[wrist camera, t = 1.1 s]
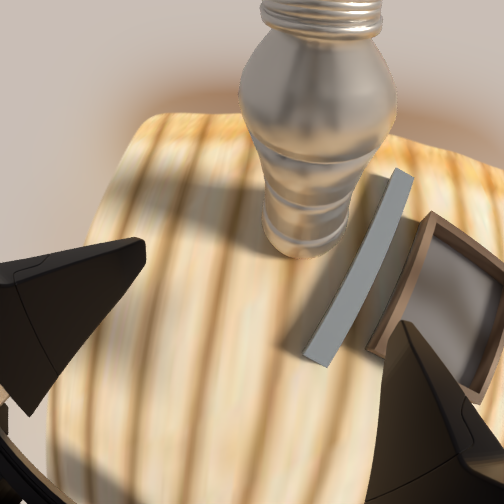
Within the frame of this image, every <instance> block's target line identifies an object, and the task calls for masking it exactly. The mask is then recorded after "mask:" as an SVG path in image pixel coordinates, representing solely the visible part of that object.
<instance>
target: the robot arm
mask: <svg viewBox="0 0 504 504" xmlns="http://www.w3.org/2000/svg"><path fill="white" fill-rule="evenodd" d="M145 264H146V244H145V241H144V240H143V239H140V238H137V237H131V238H126V239H120V240H115V241H110V242H105V243H99V244H94V245H89V246H84V247H79V248H74V249H70V250H65V251H61V252H55V253H51V254H46V255H41V256H37V257H32V258H27V259H21V260H15V261H9V262H3V263H0V504H20V502H21V501H22V500H24V501H25V502H26V503H27V504H77V503H75V502H74V501H73V500H71V499H70V498H69V497H68V496H67V495H65V494H64V493H63V492H62V491H61V490H59V489H58V488H57V487H56V486H55V485H54V484H53V483H52V482H50V481H49V480H48V479H47V478H46V477H45V476H44V475H43V474H42V473H41V472H40V471H39V470H38V469H37V468H36V467H35V466H34V465H33V464H32V463H31V462H30V461H29V460H28V459H27V458H26V457H25V456H24V455H23V454H22V453H21V452H20V450H19V449H18V448H17V447H16V446H15V445H14V443H13V442H12V441H11V440H10V439H9V437H8V436H7V435H8V406H7V405H6V404H5V403H4V402H5V401H6V400H7V399H8V398H9V397H11V398H12V399H13V400H14V401H15V402H16V403H17V405H18V406H19V407H20V408H21V409H22V410H23V411H24V412H25V413H26V415H27V416H28V417H30V416H31V415H32V414H33V413H34V411H35V410H36V408H37V407H38V405H39V404H40V402H41V401H42V399H43V398H44V397H45V395H46V394H47V392H48V391H49V389H50V388H51V387H52V385H53V384H54V382H55V381H56V380H57V378H58V376H59V375H60V374H61V373H62V371H63V370H64V369H65V367H66V366H67V365H68V363H69V362H70V361H71V359H72V358H73V357H74V355H75V354H76V353H77V352H78V350H79V349H80V348H81V346H82V345H83V344H84V343H85V341H86V340H87V339H88V338H89V336H90V335H91V334H92V333H93V331H94V330H95V329H96V328H97V326H98V325H99V324H100V323H101V322H102V320H103V319H104V318H105V317H106V316H107V314H108V313H109V312H110V311H111V310H112V308H113V307H114V306H115V305H116V304H117V302H118V301H119V300H120V299H121V298H122V296H123V295H124V294H125V293H126V291H127V290H128V288H129V287H130V286H131V284H132V283H133V281H134V280H135V278H136V277H137V276H138V274H139V273H140V272H141V270H142V269H143V267H144V266H145ZM364 504H504V448H503V447H502V446H501V444H500V443H499V441H498V440H497V438H496V437H495V436H494V434H493V433H492V432H491V430H490V429H489V427H488V426H487V425H486V423H485V422H484V420H483V419H482V418H481V416H480V415H479V414H478V412H477V411H476V409H475V408H474V406H473V405H472V403H471V402H470V400H469V399H468V397H467V396H465V393H464V391H463V390H462V388H461V387H460V385H459V384H458V383H457V381H456V380H455V378H454V377H453V376H452V374H451V373H450V371H449V370H448V369H447V367H446V366H445V364H444V363H443V362H442V360H441V359H440V358H439V356H438V355H437V354H436V352H435V351H434V350H433V348H432V347H431V346H430V345H429V343H428V342H427V341H426V339H425V338H424V337H423V336H422V334H421V333H420V332H419V330H418V329H417V328H416V327H415V325H414V324H413V323H412V322H410V321H406V320H400V321H399V322H398V324H397V325H396V327H395V329H394V330H393V332H392V334H391V335H390V337H389V339H388V342H387V347H386V355H385V362H384V369H383V375H382V382H381V394H380V407H379V418H378V427H377V436H376V443H375V450H374V457H373V463H372V469H371V474H370V479H369V484H368V489H367V494H366V498H365V503H364Z"/></svg>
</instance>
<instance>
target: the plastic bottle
mask: <svg viewBox="0 0 504 504" xmlns="http://www.w3.org/2000/svg"><path fill="white" fill-rule="evenodd" d="M381 6H382V0H262V3H261V5H260V12H261V18H262V21H263V22H264V23H265V24H266V25H267V26H269V27H271V30H270V31H269V33H268V34H267V35H266V36H265V37H264V39H263V40H262V41H261V42H260V44H259V45H258V46H257V48H256V49H255V50H254V52H253V54H252V55H251V57H250V59H249V60H248V62H247V64H246V66H245V67H244V69H243V72H242V76H241V81H240V86H239V92H238V101H239V106H240V109H241V112H242V116H243V119H244V121H245V124H246V126H247V128H248V130H249V133H250V135H251V138H252V140H253V142H254V145H255V147H256V150H257V152H258V155H259V158H260V162H261V166H262V170H263V174H264V179H265V198H264V202H263V208H262V217H261V219H262V227H263V230H264V233H265V234H266V236H267V238H268V239H269V241H270V242H271V244H272V245H273V246H274V247H275V248H276V249H277V250H278V251H280V252H281V253H282V254H284V255H287V256H289V257H292V258H296V259H312V258H316V257H319V256H321V255H323V254H325V253H326V252H328V251H329V250H331V249H332V248H333V247H334V246H335V245H336V244H338V242H339V241H340V240H341V238H342V237H343V235H344V233H345V231H346V227H347V222H348V217H349V205H350V201H351V197H352V193H353V191H354V189H355V186H356V185H357V183H358V181H359V179H360V177H361V175H362V173H363V171H364V169H365V168H366V166H367V165H368V163H369V162H370V160H371V159H372V157H373V156H374V154H375V153H376V152H377V150H378V149H379V147H380V146H381V144H382V143H383V141H384V140H385V138H386V137H387V135H388V133H389V131H390V129H391V128H392V125H393V124H394V122H395V118H396V115H397V90H396V85H395V82H394V80H393V77H392V75H391V73H390V70H389V68H388V66H387V64H386V61H385V59H384V58H383V56H382V54H381V53H380V51H379V50H378V48H377V47H376V45H375V44H374V42H373V40H372V37H375V36H377V35H378V34H379V33H380V32H381V29H382V23H383V18H382V16H381Z"/></svg>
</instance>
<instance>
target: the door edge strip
mask: <svg viewBox="0 0 504 504" xmlns="http://www.w3.org/2000/svg"><path fill="white" fill-rule="evenodd" d="M413 180H414V177H412V176H410V175H409V174H407V173H405V172H403V171H402V170H400V169H398V168H395V170H394V172H393V173H392V175H391V177H390V179H389V182H388V184H387V187H386V189H385V191H384V194H383V196H382V199H381V201H380V203H379V206H378V208H377V210H376V213H375V215H374V217H373V220H372V222H371V224H370V226H369V228H368V231H367V233H366V235H365V237H364V239H363V241H362V244H361V246H360V248H359V250H358V252H357V254H356V256H355V258H354V260H353V262H352V264H351V266H350V268H349V270H348V272H347V274H346V276H345V278H344V280H343V282H342V284H341V286H340V287H339V289H338V291H337V293H336V295H335V297H334V299H333V301H332V302H331V304H330V306H329V308H328V310H327V311H326V313H325V315H324V317H323V319H322V320H321V322H320V324H319V325H318V327H317V329H316V331H315V332H314V334H313V336H312V337H311V339H310V341H309V342H308V344H307V346H306V347H305V349H304V351H303V352H302V354H303V355H304V356H306V357H308V358H310V359H311V360H313V361H315V362H317V363H319V364H321V365H322V366H324V367H326V368H328V366H329V364H330V363H331V361H332V359H333V358H334V356H335V354H336V352H337V351H338V349H339V347H340V346H341V344H342V342H343V340H344V338H345V337H346V335H347V333H348V331H349V329H350V328H351V326H352V324H353V322H354V320H355V318H356V316H357V314H358V312H359V311H360V309H361V307H362V305H363V303H364V301H365V299H366V297H367V295H368V292H369V290H370V288H371V286H372V284H373V282H374V280H375V278H376V276H377V273H378V271H379V269H380V267H381V264H382V262H383V260H384V258H385V255H386V253H387V251H388V248H389V246H390V243H391V241H392V238H393V236H394V233H395V231H396V228H397V226H398V223H399V220H400V218H401V215H402V212H403V210H404V207H405V204H406V201H407V198H408V195H409V192H410V189H411V186H412V183H413Z"/></svg>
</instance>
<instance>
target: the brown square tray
mask: <svg viewBox="0 0 504 504" xmlns="http://www.w3.org/2000/svg"><path fill="white" fill-rule="evenodd" d="M400 320H406V321H410V322H412V323H413V324H414V325H415V327H416V328H417V329H418V330H419V332H420V333H421V334H422V336H423V337H424V338H425V339H426V341H427V342H428V343H429V345H430V346H431V347H432V348H433V350H434V351H435V352H436V354H437V355H438V356H439V358H440V359H441V360H442V362H443V363H444V364H445V366H446V367H447V369H448V370H449V371H450V373H451V374H452V376H453V377H454V378H455V380H456V381H457V383H458V384H459V385H460V387H461V388H462V390H463V391H464V393H465V396H467V397H468V399H469V400H470V402H471V403H474V404H478V405H480V404H481V402H482V400H483V398H484V396H485V394H486V391H487V389H488V387H489V385H490V382H491V380H492V377H493V375H494V372H495V370H496V367H497V365H498V362H499V359H500V356H501V353H502V350H503V347H504V263H503V262H502V261H501V260H499V259H498V258H497V257H496V256H494V255H493V254H492V253H491V252H489V251H488V250H487V249H486V248H484V247H483V246H482V245H480V244H479V243H478V242H476V241H475V240H474V239H472V238H471V237H470V236H468V235H467V234H465V233H464V232H463V231H461V230H460V229H458V228H457V227H455V226H454V225H453V224H451V223H450V222H448V221H447V220H445V219H444V218H442V217H441V216H439V215H438V214H436V213H434V212H433V211H430V213H429V214H428V215H427V216H426V217H425V218H424V219H423V220H422V221H421V222H420V224H419V227H418V230H417V233H416V236H415V239H414V242H413V244H412V247H411V250H410V252H409V255H408V258H407V260H406V263H405V265H404V268H403V270H402V273H401V275H400V278H399V280H398V282H397V285H396V287H395V289H394V291H393V294H392V296H391V298H390V300H389V302H388V305H387V307H386V309H385V311H384V313H383V315H382V317H381V319H380V321H379V323H378V325H377V327H376V329H375V331H374V333H373V335H372V337H371V339H370V341H369V342H368V344H367V346H366V348H365V349H366V350H368V351H370V352H372V353H373V354H375V355H377V356H379V357H381V358H383V359H385V355H386V347H387V342H388V339H389V337H390V335H391V334H392V332H393V330H394V329H395V327H396V325H397V324H398V322H399V321H400Z"/></svg>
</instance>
